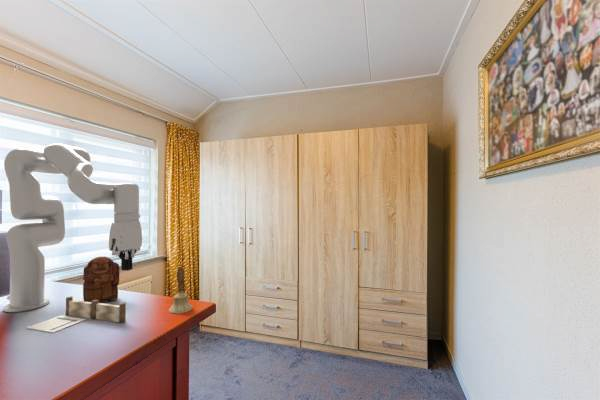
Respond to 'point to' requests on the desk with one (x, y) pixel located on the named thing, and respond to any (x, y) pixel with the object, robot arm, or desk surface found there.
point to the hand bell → (180, 296)
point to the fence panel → (111, 312)
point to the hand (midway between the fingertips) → (126, 269)
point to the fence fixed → (81, 308)
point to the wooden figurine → (101, 280)
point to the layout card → (56, 324)
